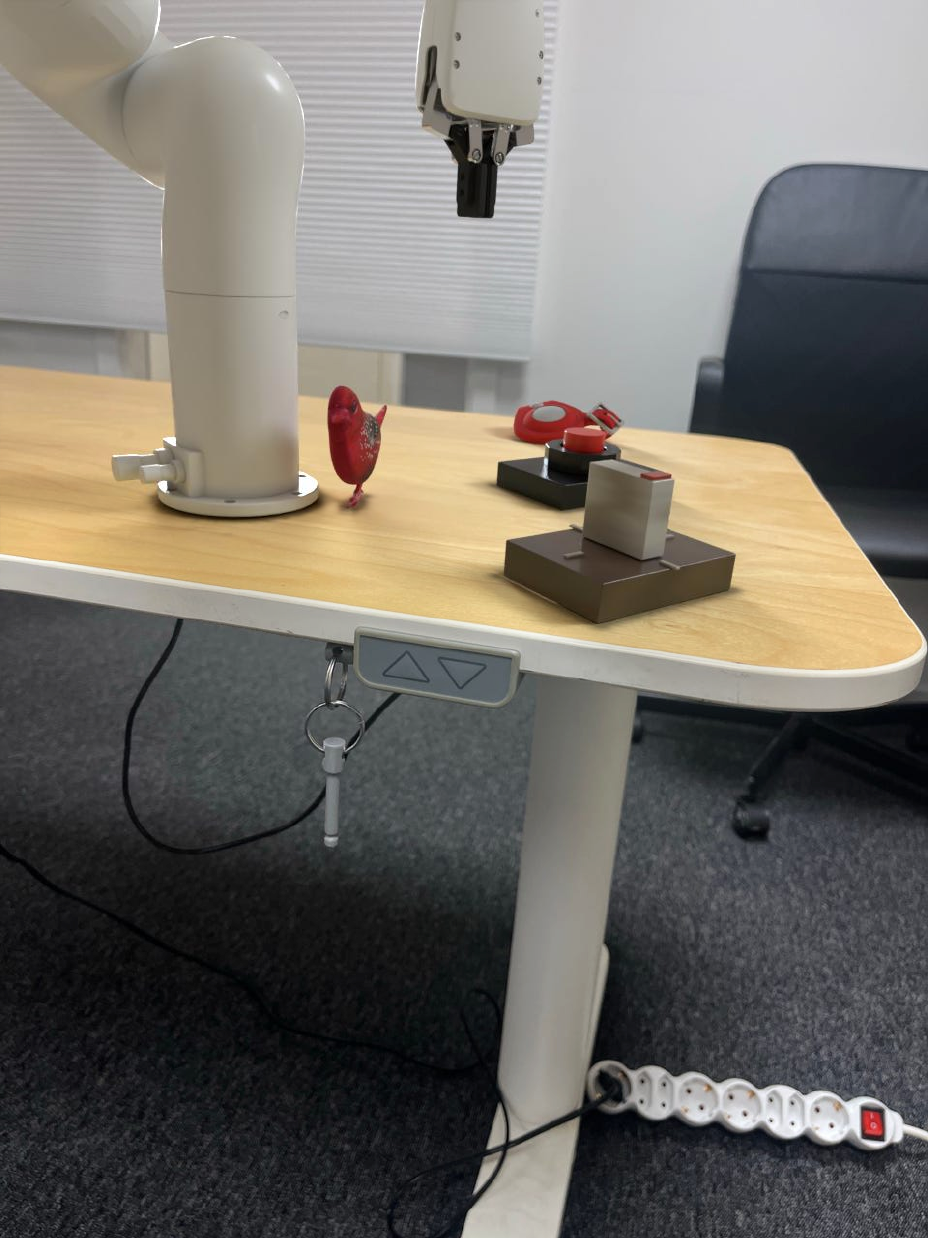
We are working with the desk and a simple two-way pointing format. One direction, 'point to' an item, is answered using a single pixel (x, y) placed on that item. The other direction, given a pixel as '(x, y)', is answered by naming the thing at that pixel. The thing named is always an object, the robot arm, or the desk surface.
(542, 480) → the button box
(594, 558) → the brown flat block
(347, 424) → the decorative bird figurine
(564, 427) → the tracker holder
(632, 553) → the grey rectangular block
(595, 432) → the button
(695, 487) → the desk surface
